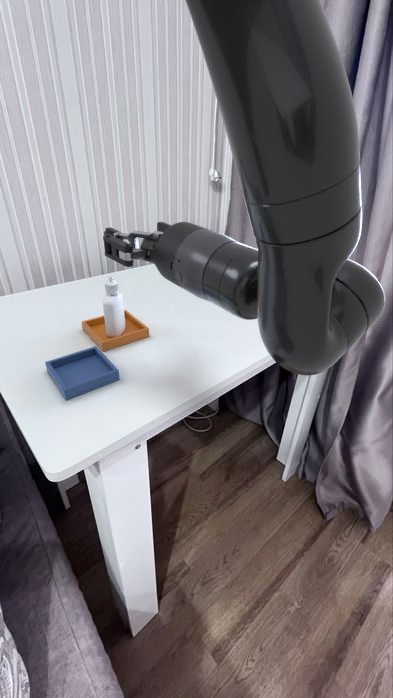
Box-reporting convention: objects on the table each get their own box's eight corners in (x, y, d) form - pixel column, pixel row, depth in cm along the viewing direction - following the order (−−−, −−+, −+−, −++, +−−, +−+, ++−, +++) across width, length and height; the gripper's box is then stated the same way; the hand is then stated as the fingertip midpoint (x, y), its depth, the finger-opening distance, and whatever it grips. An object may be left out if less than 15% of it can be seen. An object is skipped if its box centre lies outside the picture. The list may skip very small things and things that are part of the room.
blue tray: (65, 400, 51) (63, 390, 50) (47, 371, 57) (44, 362, 56) (119, 379, 56) (118, 370, 55) (97, 354, 62) (96, 345, 61)
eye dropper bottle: (98, 333, 68) (90, 277, 62) (119, 323, 72) (114, 269, 65) (113, 340, 66) (106, 283, 59) (133, 329, 70) (129, 275, 63)
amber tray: (103, 351, 63) (102, 343, 62) (82, 329, 70) (81, 321, 69) (149, 336, 69) (149, 328, 68) (126, 317, 75) (125, 309, 74)
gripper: (248, 223, 41) (174, 201, 51) (148, 236, 33) (84, 208, 44) (240, 281, 45) (173, 250, 55) (150, 305, 37) (91, 263, 48)
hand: (134, 231), depth 50 cm, fingers open, 8 cm apart
